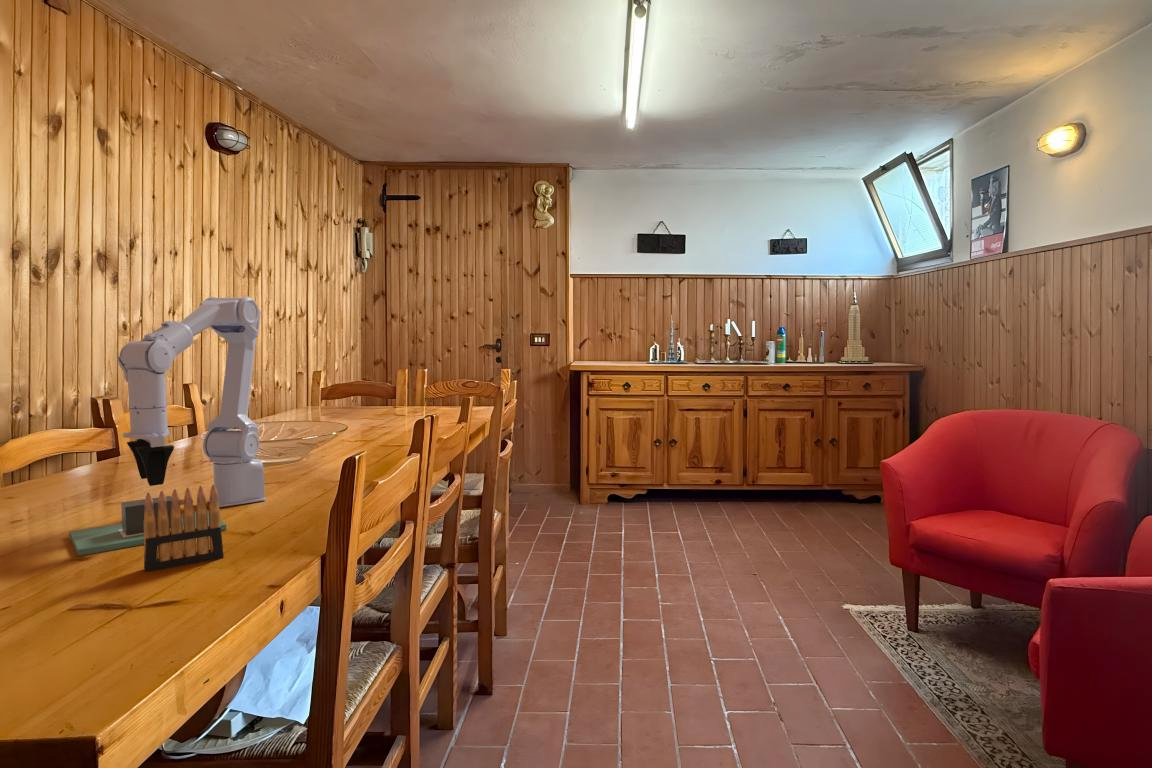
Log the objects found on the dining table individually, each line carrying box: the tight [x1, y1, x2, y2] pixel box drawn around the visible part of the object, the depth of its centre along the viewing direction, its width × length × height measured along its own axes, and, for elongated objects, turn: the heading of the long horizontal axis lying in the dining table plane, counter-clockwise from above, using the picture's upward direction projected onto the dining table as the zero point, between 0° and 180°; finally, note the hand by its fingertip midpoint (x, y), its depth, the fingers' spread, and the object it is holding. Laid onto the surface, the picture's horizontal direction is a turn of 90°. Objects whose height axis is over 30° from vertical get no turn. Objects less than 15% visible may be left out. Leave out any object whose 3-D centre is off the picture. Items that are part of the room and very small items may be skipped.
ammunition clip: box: [143, 484, 225, 573], centre depth 105 cm, size 11×2×12 cm, turn 127°
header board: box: [69, 509, 227, 557], centre depth 121 cm, size 22×14×4 cm, turn 132°
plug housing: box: [121, 495, 194, 535], centre depth 121 cm, size 11×4×5 cm, turn 132°
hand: (151, 481), depth 122 cm, fingers open, 7 cm apart
